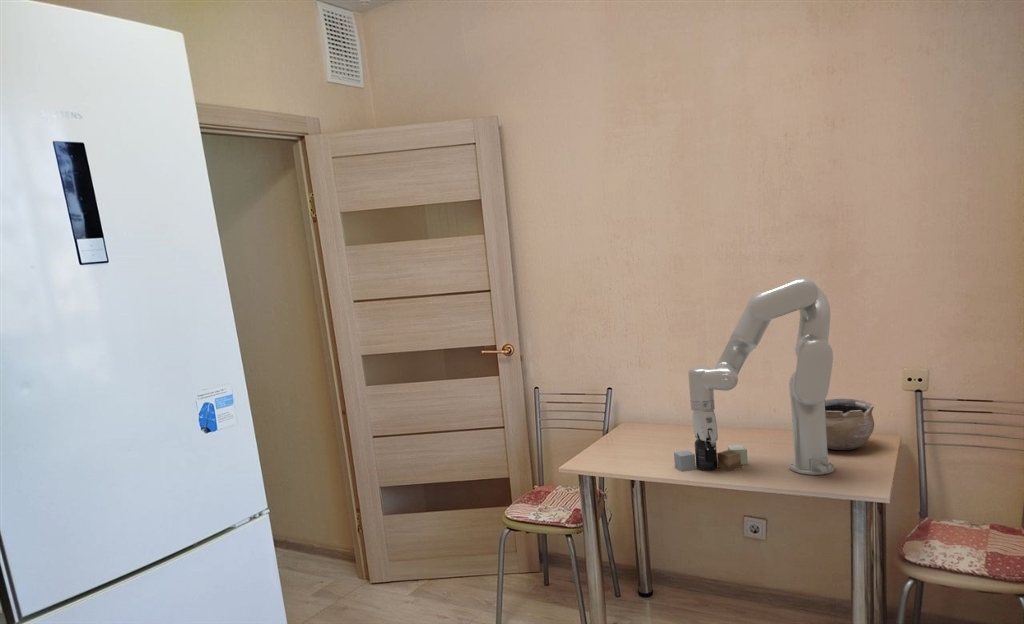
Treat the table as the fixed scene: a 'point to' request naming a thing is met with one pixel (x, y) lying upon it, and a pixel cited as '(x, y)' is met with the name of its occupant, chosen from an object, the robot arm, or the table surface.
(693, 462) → the slate cube
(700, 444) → the supplement bottle
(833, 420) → the ceramic bowl
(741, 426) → the table surface
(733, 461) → the walnut cube
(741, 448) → the sage cube
